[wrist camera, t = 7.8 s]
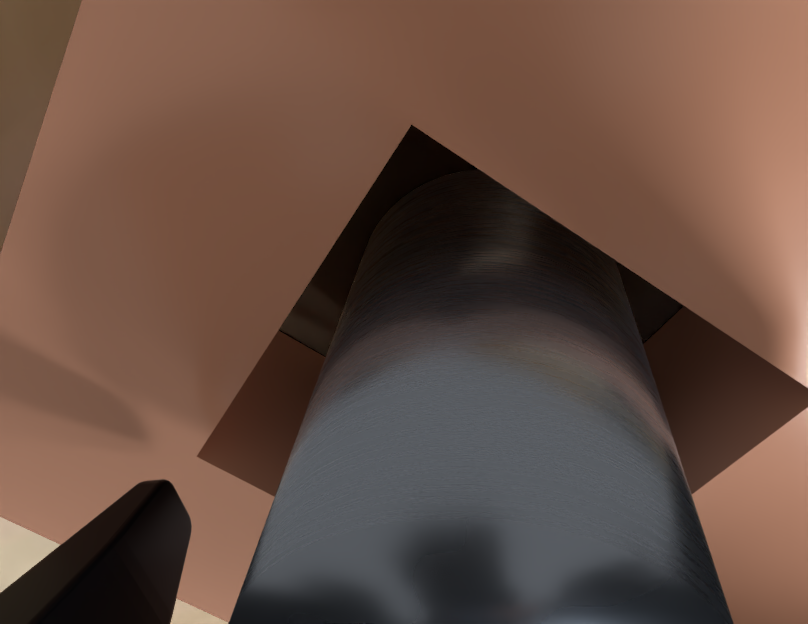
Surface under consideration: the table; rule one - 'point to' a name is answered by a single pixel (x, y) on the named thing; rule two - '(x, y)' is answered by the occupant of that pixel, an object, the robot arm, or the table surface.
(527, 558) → the steel peg
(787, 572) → the hub block
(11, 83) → the table surface
